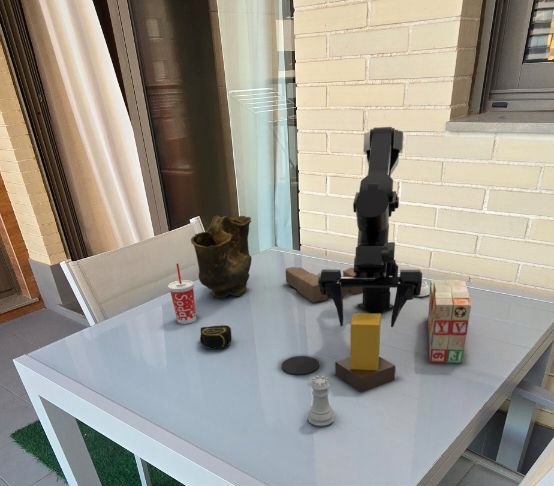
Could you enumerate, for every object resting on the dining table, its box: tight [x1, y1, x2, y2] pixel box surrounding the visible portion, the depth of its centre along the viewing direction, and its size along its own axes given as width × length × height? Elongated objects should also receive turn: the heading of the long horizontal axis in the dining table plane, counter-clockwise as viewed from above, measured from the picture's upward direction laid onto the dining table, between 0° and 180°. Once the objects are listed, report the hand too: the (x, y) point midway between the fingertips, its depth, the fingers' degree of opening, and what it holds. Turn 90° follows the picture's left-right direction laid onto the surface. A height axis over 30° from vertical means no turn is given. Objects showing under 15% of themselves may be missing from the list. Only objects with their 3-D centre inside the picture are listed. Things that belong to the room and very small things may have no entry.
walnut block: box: [334, 356, 396, 393], centre depth 102 cm, size 8×8×3 cm
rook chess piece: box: [307, 375, 335, 428], centre depth 89 cm, size 4×4×8 cm
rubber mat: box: [281, 355, 320, 376], centre depth 108 cm, size 8×8×1 cm
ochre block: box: [349, 312, 382, 370], centre depth 99 cm, size 5×5×9 cm
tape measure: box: [199, 324, 233, 349], centre depth 118 cm, size 7×7×4 cm
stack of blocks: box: [427, 279, 472, 364], centre depth 110 cm, size 21×6×12 cm, turn 168°
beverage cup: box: [167, 262, 197, 325], centre depth 128 cm, size 6×6×14 cm
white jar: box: [416, 280, 430, 298], centre depth 135 cm, size 5×3×5 cm
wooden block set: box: [284, 266, 363, 304], centre depth 143 cm, size 17×6×18 cm
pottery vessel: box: [190, 215, 252, 299], centre depth 141 cm, size 25×11×20 cm, turn 162°
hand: (366, 325), depth 99 cm, fingers open, 9 cm apart
